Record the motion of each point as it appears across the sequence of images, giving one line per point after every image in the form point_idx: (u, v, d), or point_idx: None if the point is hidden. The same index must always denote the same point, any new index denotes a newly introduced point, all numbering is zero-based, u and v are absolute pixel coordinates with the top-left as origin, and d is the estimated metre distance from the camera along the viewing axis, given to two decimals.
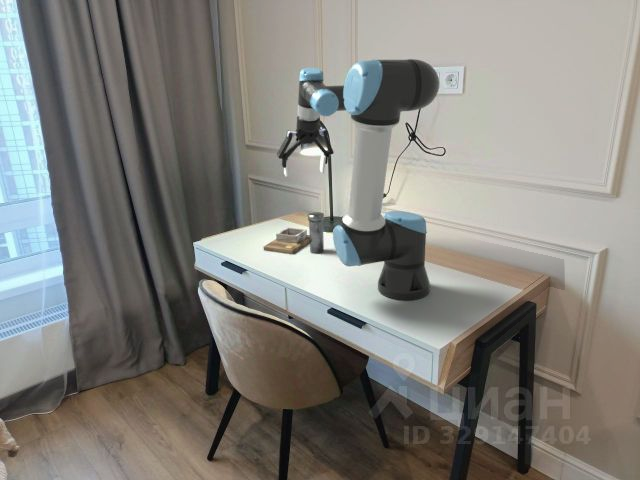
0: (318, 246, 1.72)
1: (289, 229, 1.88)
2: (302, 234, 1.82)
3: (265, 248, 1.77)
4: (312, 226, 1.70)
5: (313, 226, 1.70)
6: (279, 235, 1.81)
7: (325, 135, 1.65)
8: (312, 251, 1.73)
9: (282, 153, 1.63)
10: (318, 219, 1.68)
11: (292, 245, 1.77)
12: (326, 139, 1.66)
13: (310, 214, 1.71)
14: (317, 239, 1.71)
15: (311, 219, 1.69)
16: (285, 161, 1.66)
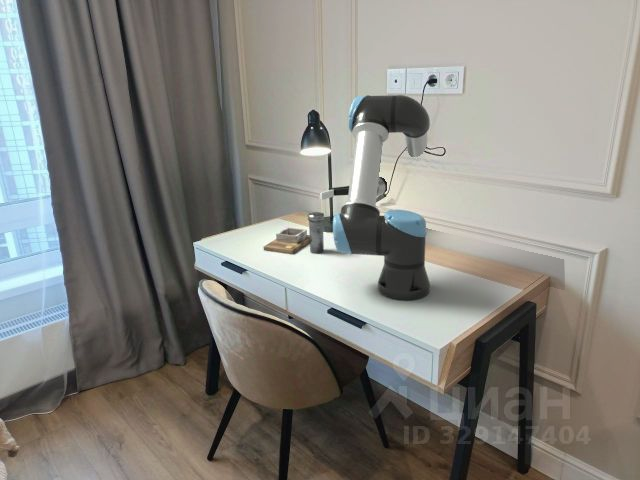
0: (318, 246, 1.72)
1: (289, 229, 1.88)
2: (302, 234, 1.82)
3: (265, 248, 1.77)
4: (312, 226, 1.70)
5: (313, 226, 1.70)
6: (279, 235, 1.81)
7: None
8: (312, 251, 1.73)
9: None
10: (318, 219, 1.68)
11: (292, 245, 1.77)
12: None
13: (310, 214, 1.71)
14: (317, 239, 1.71)
15: (311, 219, 1.69)
16: None
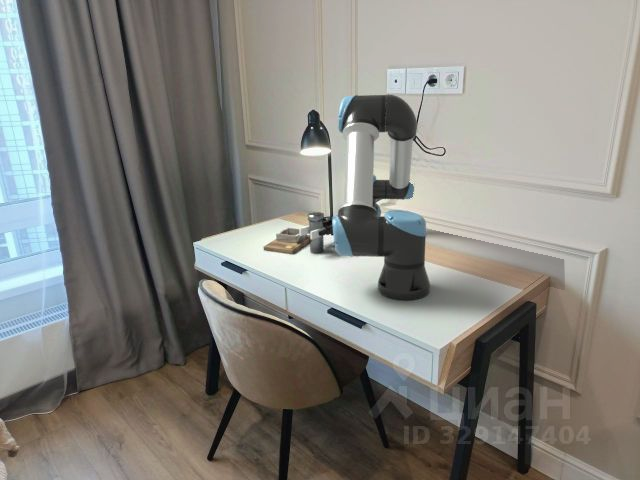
0: (318, 246, 1.72)
1: (289, 229, 1.88)
2: None
3: (265, 248, 1.77)
4: (312, 226, 1.70)
5: (313, 226, 1.70)
6: (279, 235, 1.81)
7: None
8: (312, 251, 1.73)
9: None
10: (318, 219, 1.68)
11: (292, 245, 1.77)
12: None
13: (310, 214, 1.71)
14: (317, 239, 1.71)
15: (311, 219, 1.69)
16: None
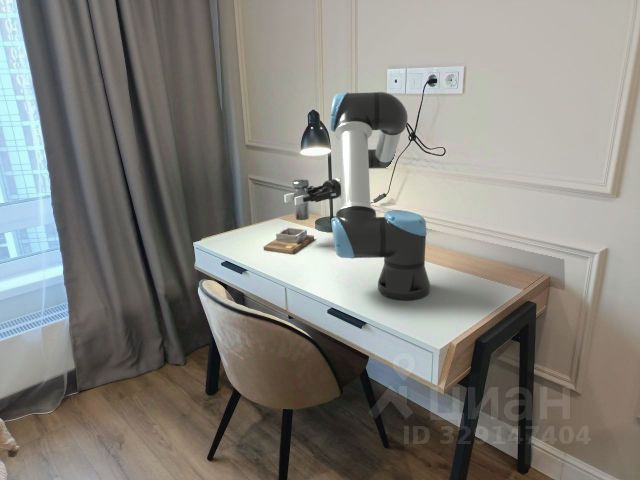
0: (302, 212, 1.75)
1: (289, 229, 1.88)
2: (302, 234, 1.82)
3: (265, 248, 1.77)
4: (296, 192, 1.73)
5: (298, 192, 1.73)
6: (279, 235, 1.81)
7: (331, 191, 1.78)
8: (297, 218, 1.77)
9: None
10: (302, 185, 1.72)
11: (292, 245, 1.77)
12: (327, 192, 1.77)
13: (295, 181, 1.74)
14: (301, 205, 1.74)
15: (296, 185, 1.72)
16: None
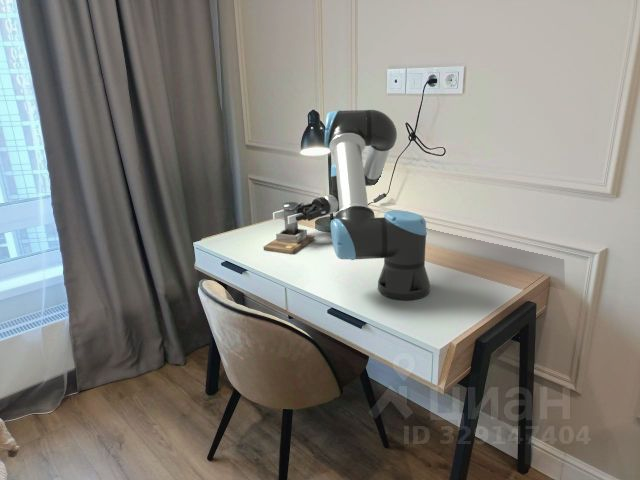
0: (292, 234, 1.81)
1: None
2: (302, 234, 1.82)
3: (265, 248, 1.77)
4: (286, 215, 1.79)
5: (288, 214, 1.79)
6: (279, 235, 1.81)
7: (321, 209, 1.84)
8: None
9: None
10: (292, 208, 1.78)
11: (292, 245, 1.77)
12: (318, 210, 1.83)
13: (285, 203, 1.80)
14: (291, 227, 1.80)
15: (285, 208, 1.78)
16: None
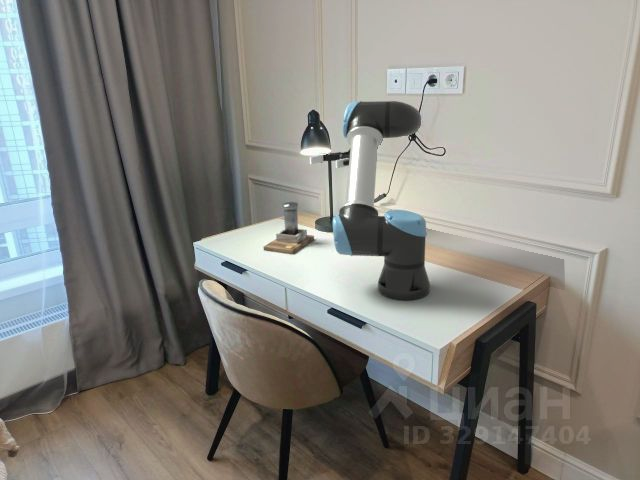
0: (292, 234, 1.81)
1: None
2: (302, 234, 1.82)
3: (265, 248, 1.77)
4: (286, 215, 1.79)
5: (288, 214, 1.79)
6: (279, 235, 1.81)
7: None
8: None
9: None
10: (292, 208, 1.77)
11: (292, 245, 1.77)
12: None
13: (285, 203, 1.80)
14: (291, 227, 1.80)
15: (285, 208, 1.78)
16: None
